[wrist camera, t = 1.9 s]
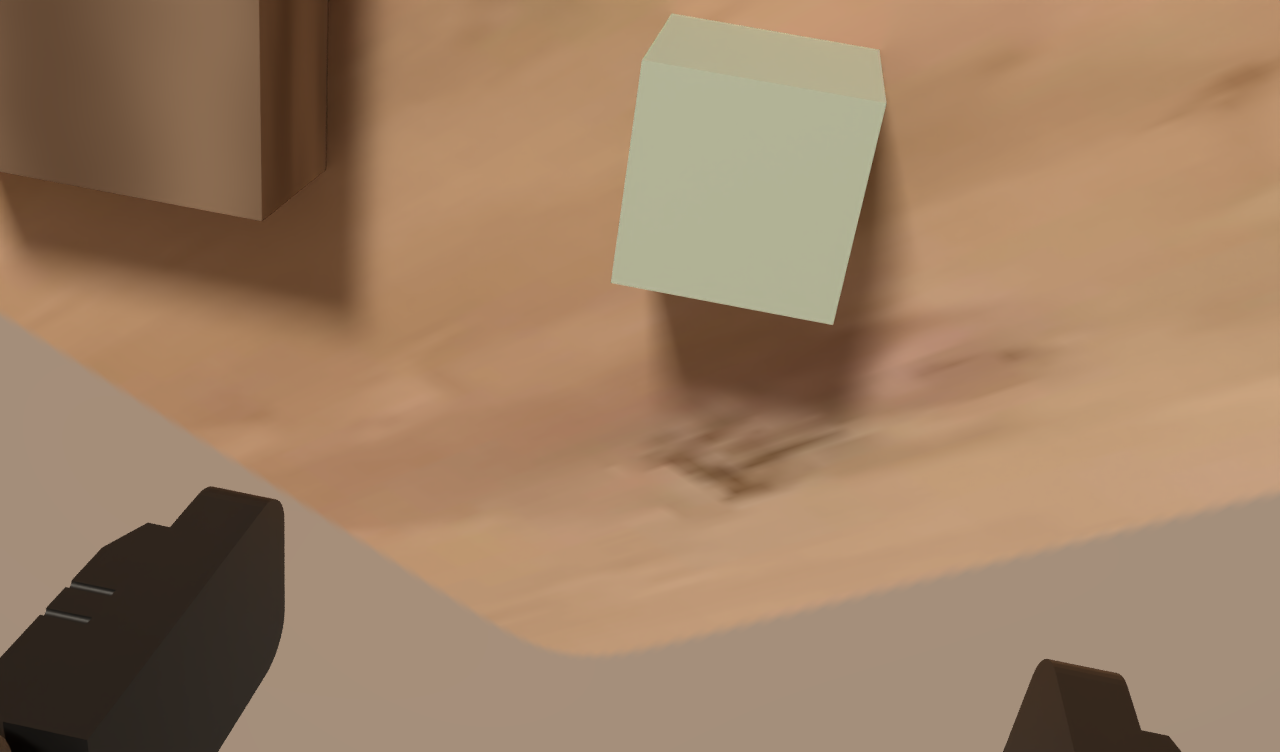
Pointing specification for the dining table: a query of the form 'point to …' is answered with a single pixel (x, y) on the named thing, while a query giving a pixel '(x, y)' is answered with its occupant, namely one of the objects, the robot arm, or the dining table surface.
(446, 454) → the dining table surface
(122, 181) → the walnut block
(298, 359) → the dining table surface
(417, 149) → the dining table surface
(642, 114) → the sage green cube
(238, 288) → the dining table surface
